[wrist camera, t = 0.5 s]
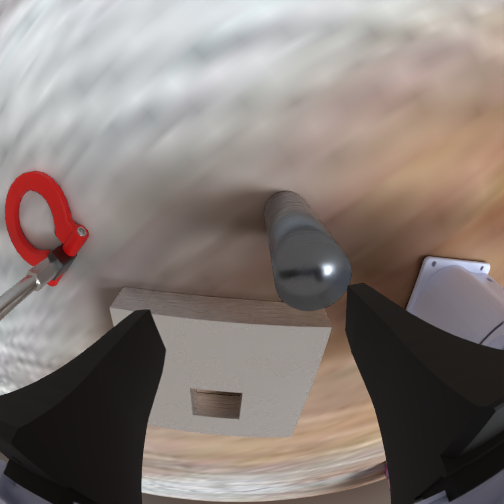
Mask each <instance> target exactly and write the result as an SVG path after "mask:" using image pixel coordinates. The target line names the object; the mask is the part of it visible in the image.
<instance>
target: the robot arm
mask: <svg viewBox="0 0 504 504" xmlns="http://www.w3.org/2000/svg"><path fill="white" fill-rule="evenodd" d="M433 261H434V263H433V264H432V262H433ZM489 270H490V264H488V263H485V262H477V261H468V260H459V259H450V258H441V257H431V256H428V257H426V258H425V259H424V261H423V264H422V267H421V270H420V273H419V276H418V278H417V281H416V284H415V287H414V290H413V292H412V295H411V298H410V300H409V303H408V305H407V308H406V310H405V309H403V308H402V307H400V306H398V305H397V304H395V303H394V302H392V301H391V300H389V299H388V298H386V297H385V296H383V295H382V294H380V293H379V292H377V291H376V290H374V289H372V288H371V287H369V286H368V285H366V284H364V283H360V284H354V285H348V286H347V309H346V328H345V331H346V334H347V338H348V342H349V345H350V348H351V352H352V355H353V357H354V359H355V362H356V364H357V366H358V369H359V371H360V373H361V376H362V378H363V380H364V383H365V385H366V388H367V390H368V392H369V395H370V397H371V400H372V403H373V405H374V408H375V412H376V415H377V419H378V423H379V427H380V431H381V436H382V440H383V445H384V450H385V455H386V461H387V468H388V474H389V483H390V492H391V504H504V288H503V287H502V286H501V285H500V284H499V283H498V282H496V281H495V280H494V279H493V278H492V277H490V276H489V275H488V272H489ZM165 355H166V348H165V346H164V343H163V341H162V339H161V336H160V334H159V331H158V329H157V327H156V324H155V322H154V319H153V316H152V314H151V311H150V309H145V310H135V311H134V312H132V313H131V314H129V315H128V316H127V317H125V318H124V319H123V320H122V321H120V322H119V323H118V324H117V325H116V326H114V327H113V328H112V329H111V330H110V331H108V332H107V333H106V334H105V335H104V336H102V337H101V338H100V339H99V340H98V341H96V342H95V343H94V344H93V345H91V346H90V347H89V348H87V349H86V350H85V351H84V352H82V353H81V354H80V355H79V356H77V357H76V358H74V359H73V360H72V361H70V362H69V363H67V364H66V365H64V366H63V367H61V368H59V369H58V370H56V371H55V372H53V373H51V374H49V375H47V376H45V377H44V378H42V379H40V380H38V381H36V382H34V383H32V384H30V385H28V386H25V387H23V388H21V389H18V390H16V391H13V392H10V393H7V394H4V395H1V396H0V451H1V452H2V453H3V454H4V455H5V456H6V457H7V458H8V459H9V461H8V463H7V464H6V463H5V462H3V461H2V460H1V459H0V504H142V494H141V480H142V460H143V449H144V442H145V435H146V428H147V424H148V420H149V416H150V413H151V409H152V406H153V402H154V399H155V396H156V393H157V389H158V386H159V383H160V380H161V376H162V373H163V367H164V362H165Z"/></svg>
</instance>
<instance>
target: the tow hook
mask: <svg viewBox="0 0 504 504" xmlns="http://www.w3.org/2000/svg"><path fill="white" fill-rule="evenodd" d="M29 190H32V191H36V192H38V193H39V194H41V195H42V196H43V197H44V199H45V200H46V201H47V203H48V205H49V206H50V208H51V211H52V214H53V218H54V224H55V235H56V236H57V238H58V239H59V240H60V241H61V242H62V244H61V245H60V246H58V247H57V248H55V249H54V250H52V251H50V250H38V249H36V248H34V247H33V246H32V245H30V243H29V242H28V241H27V240H26V238H25V237H24V235H23V233H22V230H21V227H20V223H19V205H20V201H21V199H22V197H23V196H24V194H25V193H26V192H27V191H29ZM5 219H6V225H7V230H8V233H9V236H10V239H11V241H12V243H13V245H14V247H15V249H16V250H17V252H18V253H19V254H20V255H21V257H22V258H23V259H24V260H25V261H27V262H28V263H29V264H30V265H32V266H34V267H33V268H31V269H30V270H29V271H28V273H27V275H26V277H24V278H23V279H22V280H20V281H19V282H18V283H17V284H15V285H14V286H13V287H11V288H10V289H9V290H8V291H6V292H5V293H4V294H3V295H1V296H0V321H1V320H2V319H3V318H4V317H5V316H6V315H7V314H8V313H9V312H10V311H11V310H13V309H14V308H15V307H16V306H17V305H18V304H19V303H20V302H22V301H23V300H24V299H25V298H26V297H27V296H29V295H30V294H31V293H32V292H33V291H34V290H35V291H39V290H40V289H41V288H42V287H44V286H45V285H46V284H48V285H50V286H56V285H57V283H58V282H59V280H60V278H61V277H62V275H63V274H64V272H66V271H67V269H68V268H69V266H70V265H71V263H72V262H73V260H74V259H75V257H76V256H77V253H78V251H79V250H80V248H81V247H82V245H83V244H84V243H85V241H86V240H87V238H88V237H89V233H88V231H87V229H86V228H85V227H83V226H81V225H76V223H75V222H74V221H73V220H72V219H71V212H70V209H69V206H68V202H67V199H66V197H65V195H64V193H63V192H62V190H61V188H60V186H59V185H58V184H57V183H56V182H55V181H54V179H53V178H51V177H50V176H48V175H47V174H45V173H43V172H38V171H33V172H28V173H24V174H22V175H21V176H19V177H18V178H16V180H15V181H14V182H13V184H12V185H11V187H10V189H9V192H8V195H7V199H6V205H5Z"/></svg>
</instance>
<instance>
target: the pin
mask: <svg viewBox="0 0 504 504" xmlns="http://www.w3.org/2000/svg"><path fill="white" fill-rule="evenodd" d="M264 218H265V224H266V230H267V237H268V243H269V249H270V255H271V262H272V268H273V274H274V281H275V287H276V290H277V293H278V295H279V296H280V298H281V299H282V300H283V301H284V302H285V303H286V304H287V305H289V306H290V307H292V308H295V309H297V310H302V311H316V310H320V309H323V308H326V307H328V306H330V305H332V304H334V303H335V302H336V301H338V300H339V299H340V298H341V297H342V295H343V294H344V293H345V291H346V290H347V286H348V285H349V283H350V280H351V265H350V262H349V259H348V258H347V256H346V254H345V253H344V252H343V250H342V249H341V248H340V246H339V245H338V243H337V242H336V241H335V239H334V238H333V237H332V235H331V234H330V233H329V231H328V230H327V229H326V227H325V226H324V225H323V223H322V222H321V221H320V219H319V218H318V217H317V215H316V214H315V213H314V211H313V210H312V209H311V208H310V206H309V205H308V204H307V202H306V201H305V200H304V199H303V198H302V197H301V196H300V195H299V194H297V193H295V192H291V191H282V192H279V193H276V194H275V195H273V196H272V197H271V198H270V199H269V200H268V201H267V203H266V205H265V208H264Z"/></svg>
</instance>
